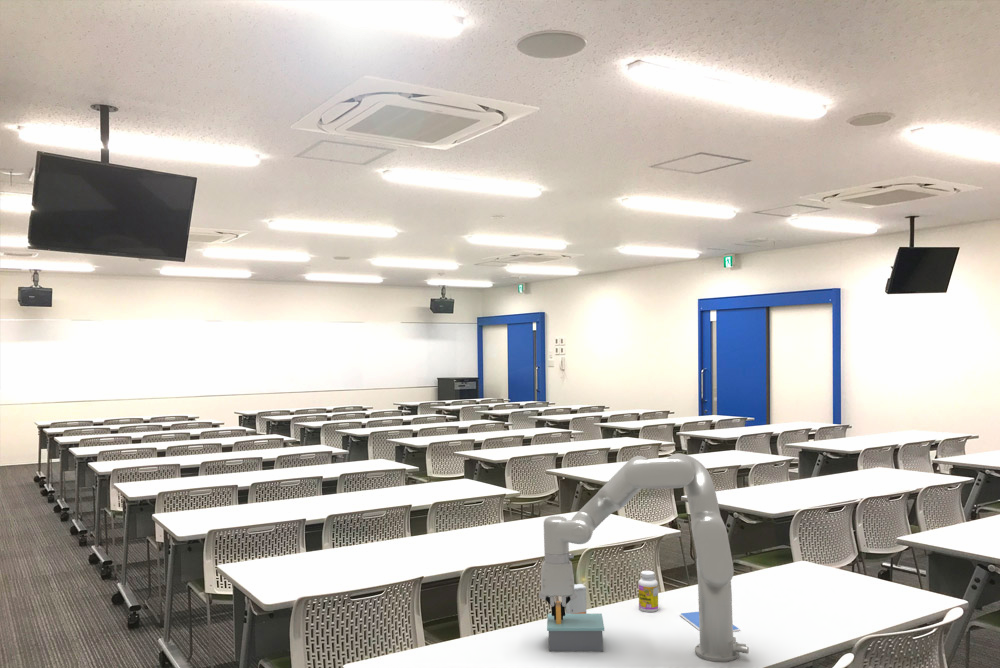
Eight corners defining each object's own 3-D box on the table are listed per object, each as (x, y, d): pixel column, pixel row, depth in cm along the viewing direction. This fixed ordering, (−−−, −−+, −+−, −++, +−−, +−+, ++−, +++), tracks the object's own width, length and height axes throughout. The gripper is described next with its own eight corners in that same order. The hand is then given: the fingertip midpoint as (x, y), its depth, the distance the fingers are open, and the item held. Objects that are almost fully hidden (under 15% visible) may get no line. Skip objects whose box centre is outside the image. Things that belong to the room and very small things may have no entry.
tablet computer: (741, 633, 242) (741, 629, 242) (705, 637, 239) (704, 632, 239) (712, 613, 261) (712, 609, 261) (678, 617, 258) (678, 613, 258)
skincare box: (570, 625, 251) (569, 588, 251) (565, 621, 255) (564, 585, 256) (587, 623, 253) (586, 586, 253) (582, 619, 257) (581, 583, 257)
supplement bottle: (635, 609, 265) (634, 572, 265) (646, 605, 269) (645, 568, 270) (651, 614, 260) (650, 576, 260) (662, 609, 265) (661, 572, 265)
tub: (600, 639, 238) (600, 616, 238) (603, 654, 226) (602, 630, 226) (549, 639, 239) (549, 616, 239) (549, 654, 227) (548, 630, 227)
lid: (601, 618, 239) (601, 597, 239) (604, 632, 226) (603, 611, 226) (547, 618, 240) (547, 597, 240) (547, 632, 227) (546, 611, 227)
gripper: (581, 554, 237) (583, 614, 236) (531, 555, 238) (533, 614, 237) (582, 561, 229) (584, 622, 229) (531, 561, 231) (532, 622, 230)
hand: (558, 618), depth 233 cm, fingers closed on lid, 1 cm apart
